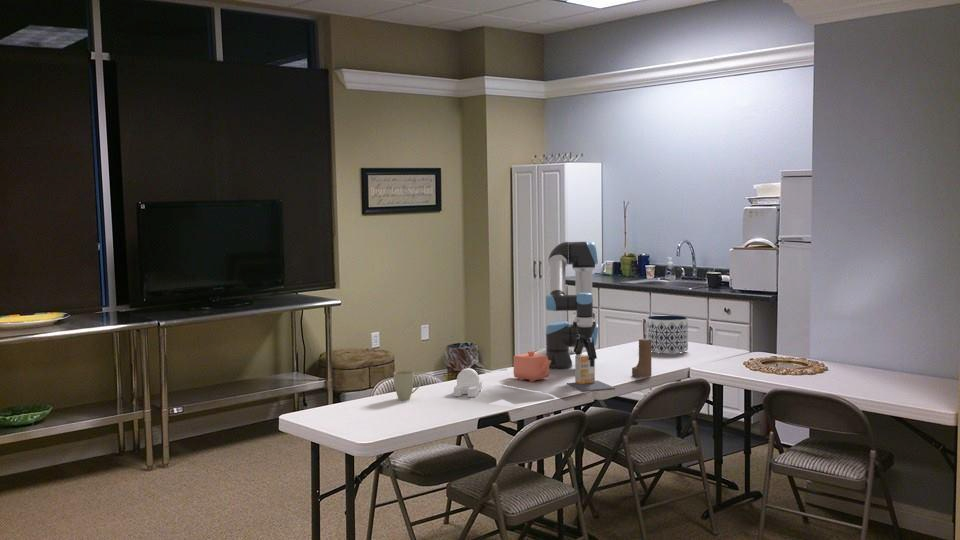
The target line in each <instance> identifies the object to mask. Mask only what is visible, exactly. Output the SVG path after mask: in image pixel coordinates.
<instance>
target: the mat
mask: <svg viewBox="0 0 960 540" xmlns="http://www.w3.org/2000/svg"><path fill="white" fill-rule="evenodd" d="M566 384H567V385H569V386H570V387H572V388H574V389H576V390H579V391H580V392H583V393H584V392H596V391H606V390H607V391H608V390H616V387H614V386H612V385H609V384H608V383H605V382H602V381H600V380H595V383H587V384H578V383H575V381H574V382H567V383H566Z"/></svg>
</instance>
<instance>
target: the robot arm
mask: <svg viewBox="0 0 960 540" xmlns="http://www.w3.org/2000/svg"><path fill="white" fill-rule="evenodd" d="M598 261H599V260H598V253H597V247H596V244H595V242H594V241H564V242H561V243H559V244H557V245H556V246H555V247H554V248H553V249H552V250H551V252H550V253H549V256H548V263H547V264H548V266H549V267H550V268H549V269H550V270H549V271H550V272H549V275H550V277H549V294H548V295H546V296H545V310H546V311H553V312H557V311H558V312H559V311H560V312H561V311H563V312H564V311H565V312H567V311H572V312H573V311H575V317H574V319H573V320H572V324H570V322H569V321H564V320H563V321H557V322H556V321H555V322H551V323H549V324H547V325H546V327H545V330H546V331H545V338H546V341H545V348H546V352H545V355H546V356H547V357H548V360H551V363H550V365H549V370H567V369H568V370H569V369H572V368H573V361H572V359H571V355H570V348H573V353H575V356H576V355H583V350H584V348H585V351H586V355H588V357H589V358H588V373H589V374H591V373H594V359H595V360H596V359H598V357H597V352H596V347H595V346H596V345H597V343H598V341H597V340H598V336H599V335H598V333H599V324H597V323H596V322H597V321H596V320H595V318H594V315H593V312H594V311H593V310H594V309H593V307H594V304H593V303H594V302H593V301H594V298H593V271H594V270H595V268H596V265H598V264H599V262H598ZM569 265H572V267H571V268H572V270H574V272H575V273H574V274H575V275H574V276H575V279H574V281H575V294H566V267H567V266H569Z"/></svg>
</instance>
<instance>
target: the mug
mask: <svg viewBox="0 0 960 540" xmlns="http://www.w3.org/2000/svg"><path fill="white" fill-rule="evenodd" d="M417 377H419V383H418V386H417V387H416V388H415V389H413V388H414V382H415V381H414V380H415V378H417ZM422 381H423V380H422V376H420V375H419V374H415V371H412V370H398V371H394V372H393V383H394V388H395V392H396V397H397V399H398V400H399V401H409V400H410V399H411V396H412V394H414V393H415V392H416V391H417V390H418V389H419V388H420V387H421V385H422Z"/></svg>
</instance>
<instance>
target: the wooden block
mask: <svg viewBox="0 0 960 540" xmlns="http://www.w3.org/2000/svg"><path fill="white" fill-rule="evenodd" d="M650 376H652V352H651V340H650V339H647V338H641V339H638V363H637V364H636V366H633V367H632V368H631V377H634V378H644V377H645V378H646V377H650Z"/></svg>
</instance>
